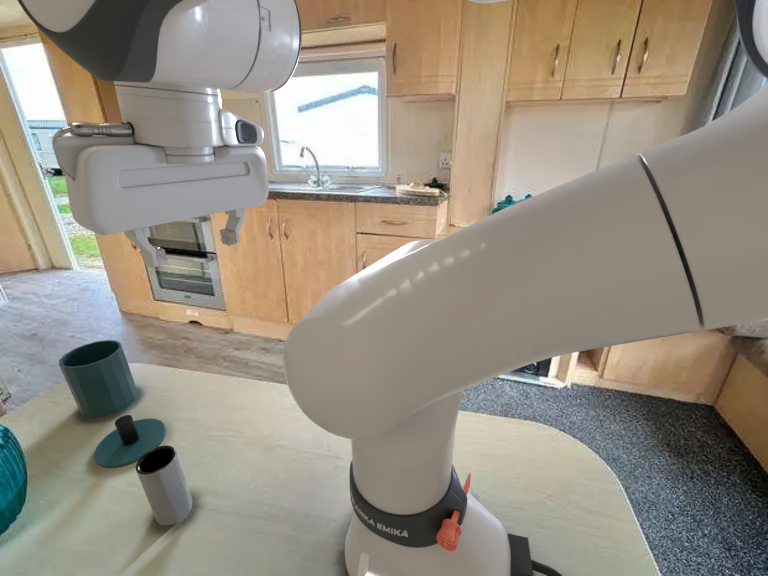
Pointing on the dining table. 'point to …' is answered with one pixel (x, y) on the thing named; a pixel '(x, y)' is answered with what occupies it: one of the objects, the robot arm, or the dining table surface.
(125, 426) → the lid
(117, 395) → the pot
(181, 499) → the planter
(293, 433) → the dining table surface
